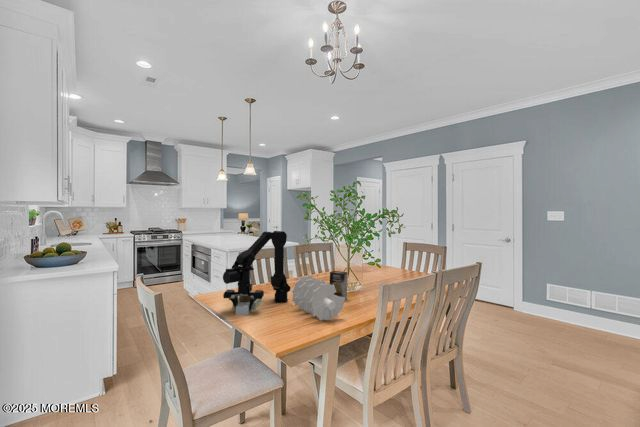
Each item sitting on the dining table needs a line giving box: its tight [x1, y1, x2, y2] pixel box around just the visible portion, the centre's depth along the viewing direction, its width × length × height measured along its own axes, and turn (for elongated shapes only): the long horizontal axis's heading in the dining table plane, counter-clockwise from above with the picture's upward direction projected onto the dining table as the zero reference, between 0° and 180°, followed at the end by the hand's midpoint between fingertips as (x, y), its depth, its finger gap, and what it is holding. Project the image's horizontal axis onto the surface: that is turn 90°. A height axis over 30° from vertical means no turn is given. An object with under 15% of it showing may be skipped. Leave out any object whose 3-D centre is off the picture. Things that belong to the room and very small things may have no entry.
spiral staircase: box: [291, 274, 346, 321], centre depth 149 cm, size 18×18×25 cm
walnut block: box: [239, 296, 256, 302], centre depth 159 cm, size 7×7×6 cm
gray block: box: [235, 303, 252, 316], centre depth 149 cm, size 6×6×4 cm
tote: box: [232, 296, 263, 311], centre depth 162 cm, size 12×17×4 cm
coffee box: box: [329, 270, 348, 301], centre depth 174 cm, size 9×6×16 cm
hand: (243, 311), depth 149 cm, fingers closed on gray block, 6 cm apart
